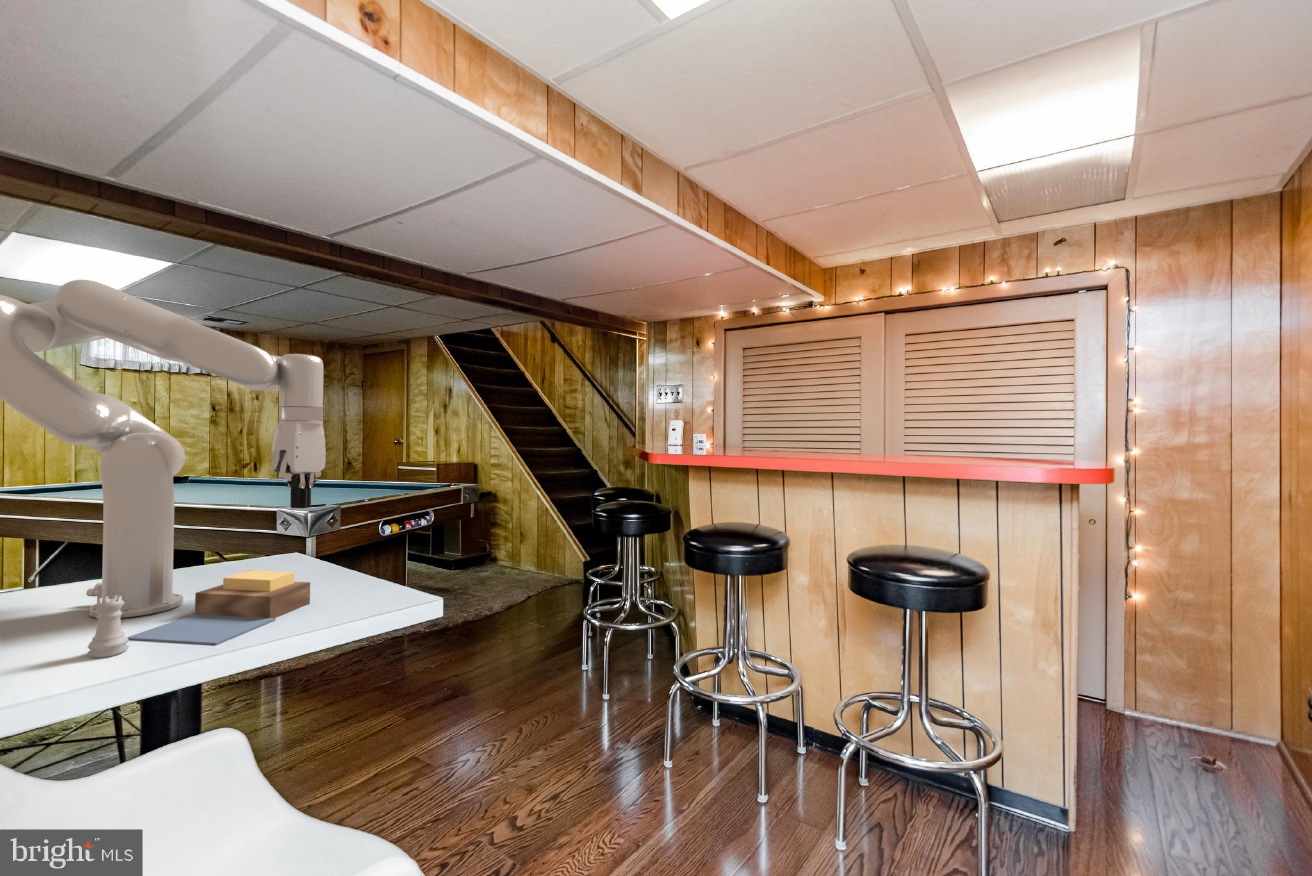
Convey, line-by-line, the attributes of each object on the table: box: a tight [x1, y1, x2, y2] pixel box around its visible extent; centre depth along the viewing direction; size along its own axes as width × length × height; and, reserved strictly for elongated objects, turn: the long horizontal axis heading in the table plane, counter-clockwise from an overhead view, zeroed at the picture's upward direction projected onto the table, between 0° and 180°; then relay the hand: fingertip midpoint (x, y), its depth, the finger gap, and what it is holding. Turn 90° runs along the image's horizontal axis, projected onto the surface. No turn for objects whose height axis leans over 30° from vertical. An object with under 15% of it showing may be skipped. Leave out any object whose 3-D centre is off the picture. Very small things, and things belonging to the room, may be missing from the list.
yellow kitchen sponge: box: [222, 570, 295, 591], centre depth 106 cm, size 9×6×2 cm, turn 85°
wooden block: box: [194, 581, 311, 618], centre depth 105 cm, size 14×10×4 cm
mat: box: [127, 613, 277, 646], centre depth 94 cm, size 15×12×1 cm
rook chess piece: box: [86, 596, 130, 659], centre depth 83 cm, size 4×4×8 cm
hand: (300, 507), depth 116 cm, fingers closed
